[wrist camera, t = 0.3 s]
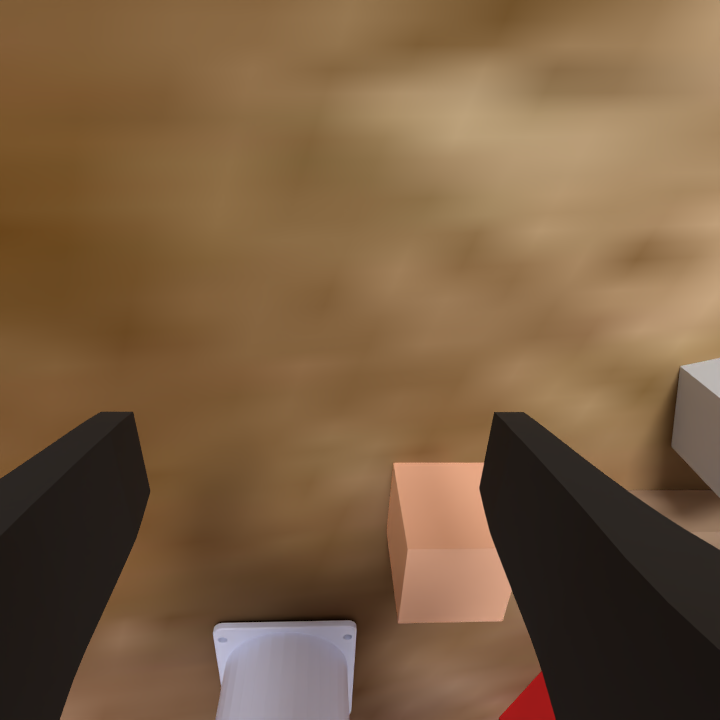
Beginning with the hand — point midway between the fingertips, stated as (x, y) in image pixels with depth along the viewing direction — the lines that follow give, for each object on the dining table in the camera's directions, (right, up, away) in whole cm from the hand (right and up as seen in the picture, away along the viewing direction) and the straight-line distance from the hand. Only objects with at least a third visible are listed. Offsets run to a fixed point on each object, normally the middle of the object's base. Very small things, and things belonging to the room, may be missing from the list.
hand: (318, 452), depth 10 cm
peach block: (+5, -5, +14) cm, 16 cm away
